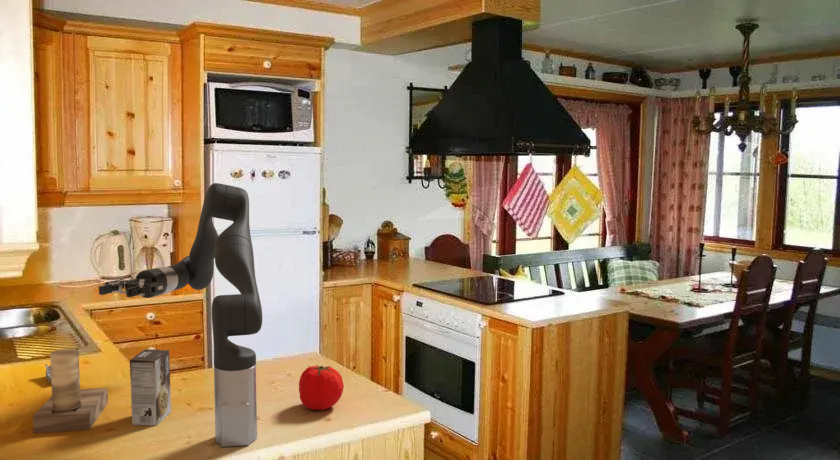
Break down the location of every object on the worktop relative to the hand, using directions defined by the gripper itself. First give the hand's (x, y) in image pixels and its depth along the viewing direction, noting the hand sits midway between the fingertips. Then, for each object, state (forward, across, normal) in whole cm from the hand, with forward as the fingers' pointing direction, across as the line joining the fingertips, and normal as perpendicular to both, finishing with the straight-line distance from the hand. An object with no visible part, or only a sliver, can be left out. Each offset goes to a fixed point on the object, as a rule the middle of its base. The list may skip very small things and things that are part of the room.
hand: (113, 292), depth 176 cm
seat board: (+10, -5, +30) cm, 32 cm away
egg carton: (-12, -30, +30) cm, 44 cm away
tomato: (-18, +49, +30) cm, 60 cm away
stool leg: (+14, -2, +29) cm, 32 cm away
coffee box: (+4, +14, +30) cm, 33 cm away
